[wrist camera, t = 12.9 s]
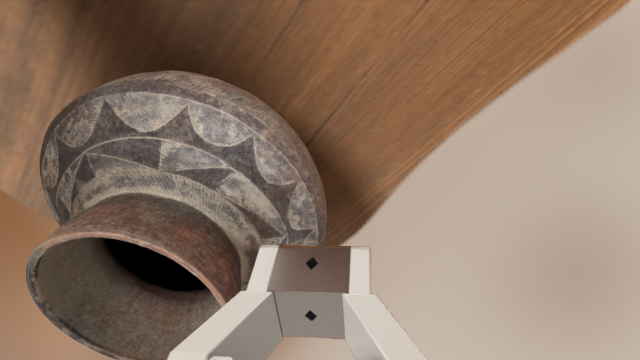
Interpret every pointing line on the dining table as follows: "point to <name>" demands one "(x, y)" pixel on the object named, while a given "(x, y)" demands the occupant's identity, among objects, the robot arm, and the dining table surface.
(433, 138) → the dining table surface
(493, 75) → the dining table surface
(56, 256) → the ceramic pot
